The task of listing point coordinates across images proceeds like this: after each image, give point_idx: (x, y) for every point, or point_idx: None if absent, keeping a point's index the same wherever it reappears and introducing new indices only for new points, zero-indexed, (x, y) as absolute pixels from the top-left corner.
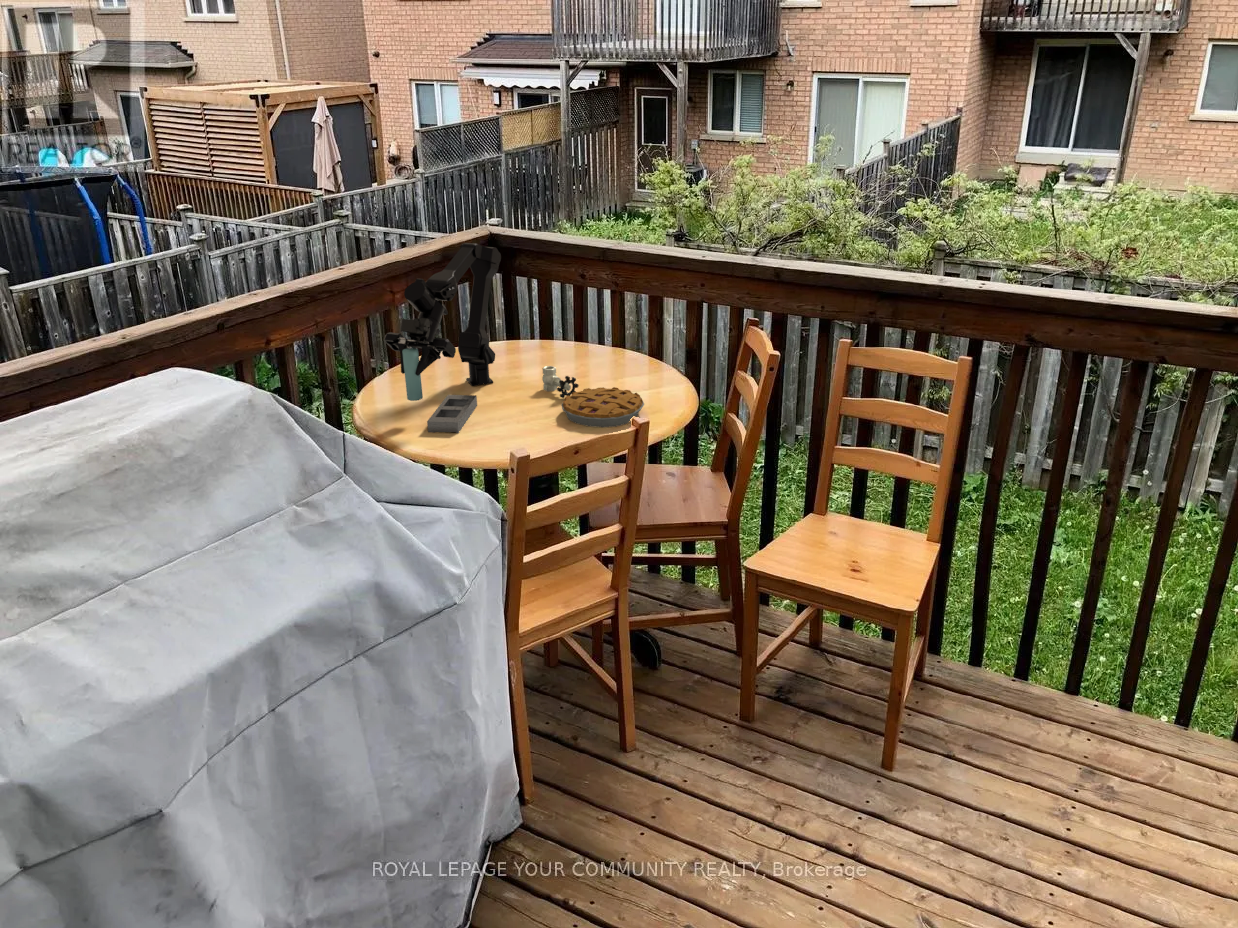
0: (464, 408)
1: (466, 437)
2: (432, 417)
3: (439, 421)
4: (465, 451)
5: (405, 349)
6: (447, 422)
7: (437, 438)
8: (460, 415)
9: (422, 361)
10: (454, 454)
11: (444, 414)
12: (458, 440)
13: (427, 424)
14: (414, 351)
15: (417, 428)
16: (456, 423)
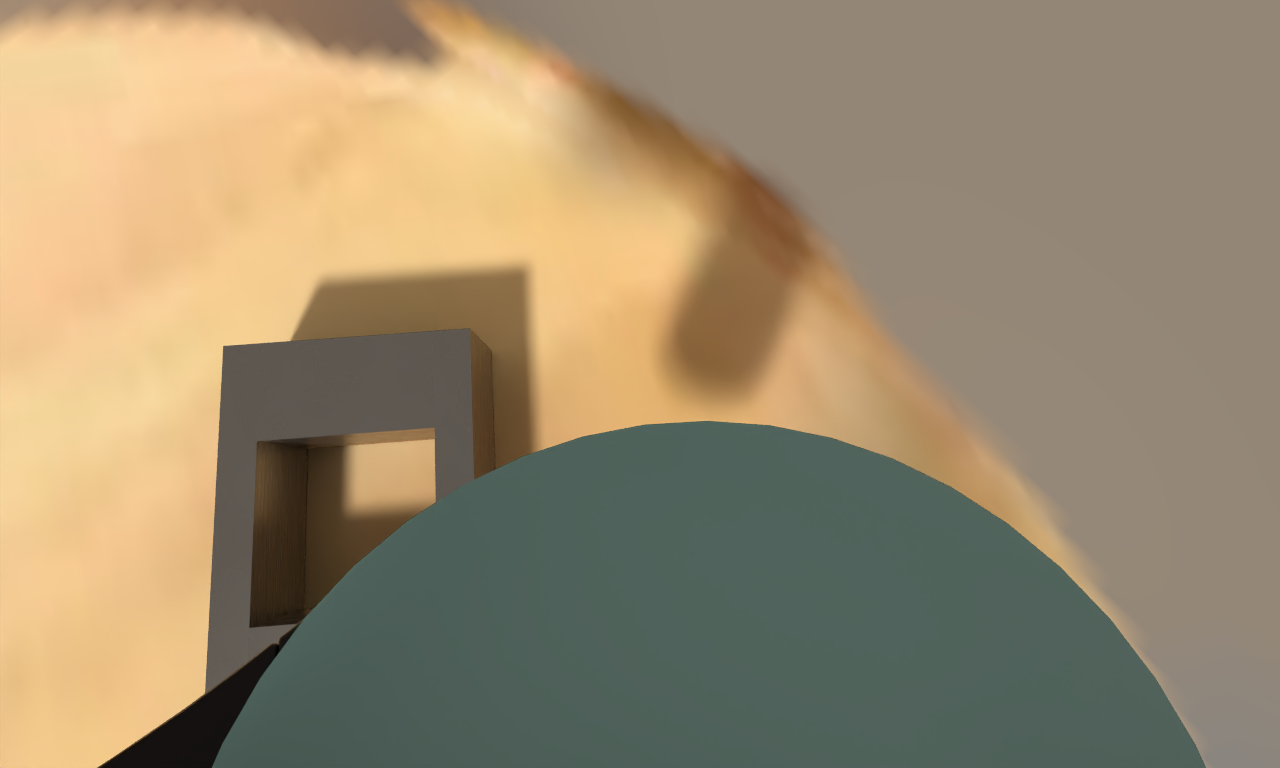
0: (231, 667)
1: (209, 306)
2: (453, 414)
3: (371, 339)
4: (171, 103)
5: None
6: (308, 341)
7: (398, 263)
8: (232, 494)
9: (267, 650)
10: (228, 56)
11: None
12: (251, 252)
13: (476, 336)
14: (325, 759)
15: (589, 408)
16: (240, 346)
